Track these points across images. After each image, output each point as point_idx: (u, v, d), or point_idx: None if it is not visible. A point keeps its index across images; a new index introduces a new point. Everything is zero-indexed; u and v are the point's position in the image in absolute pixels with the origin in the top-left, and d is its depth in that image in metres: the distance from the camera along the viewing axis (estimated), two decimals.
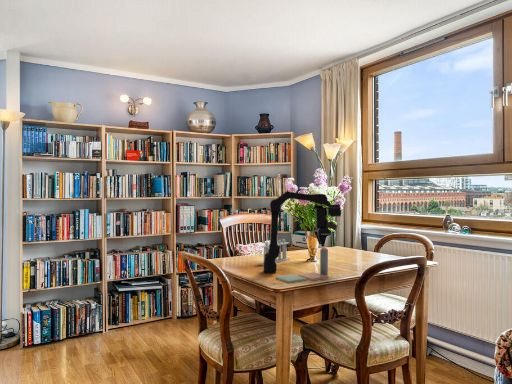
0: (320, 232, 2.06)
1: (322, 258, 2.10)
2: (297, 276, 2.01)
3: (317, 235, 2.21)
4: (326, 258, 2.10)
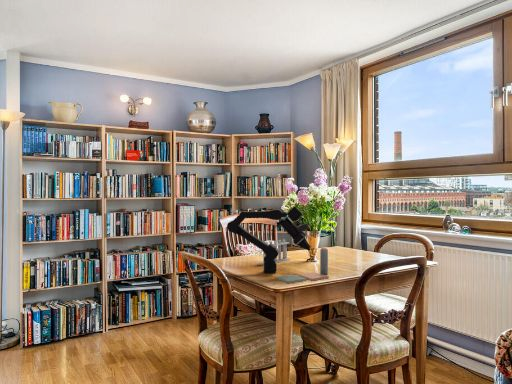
0: (296, 242, 2.04)
1: (322, 258, 2.10)
2: (297, 276, 2.01)
3: None
4: (326, 258, 2.10)
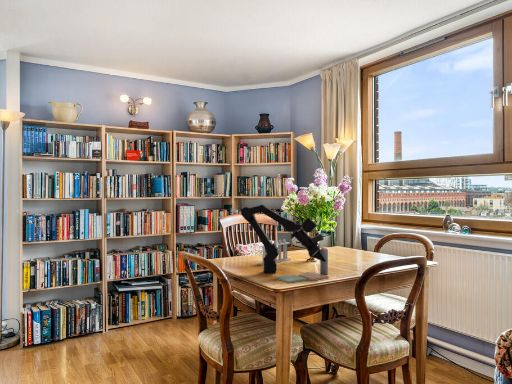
0: (311, 254, 2.03)
1: None
2: (297, 276, 2.01)
3: None
4: (326, 258, 2.10)
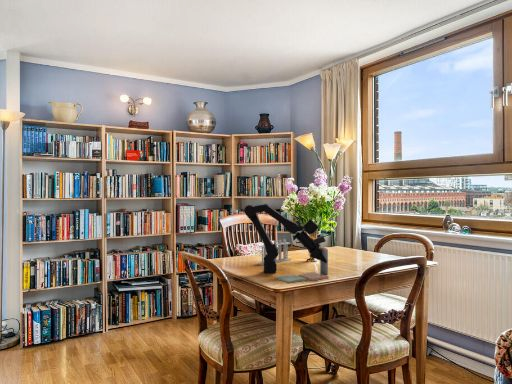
0: (313, 256, 2.03)
1: None
2: (297, 276, 2.01)
3: None
4: (326, 258, 2.10)
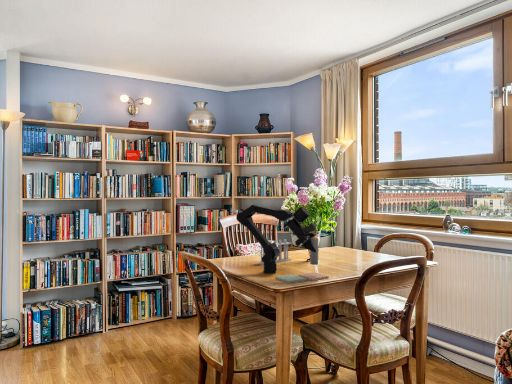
0: (297, 244, 1.98)
1: None
2: (297, 276, 2.01)
3: None
4: (315, 248, 2.02)
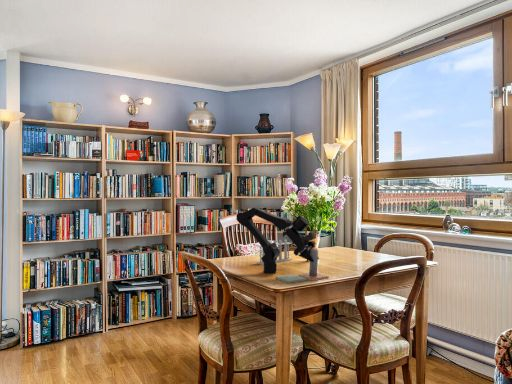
0: (295, 253, 1.98)
1: None
2: (297, 276, 2.01)
3: None
4: (314, 259, 2.02)
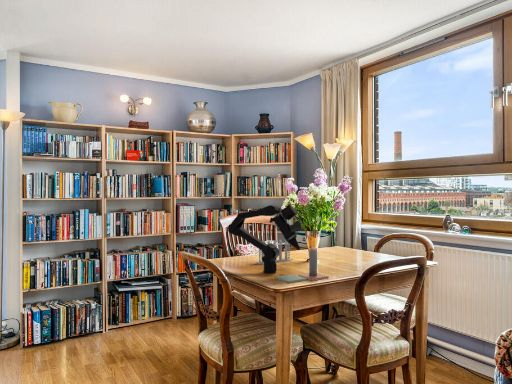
0: (287, 237, 2.02)
1: (310, 259, 2.03)
2: (297, 276, 2.01)
3: None
4: (313, 259, 2.02)
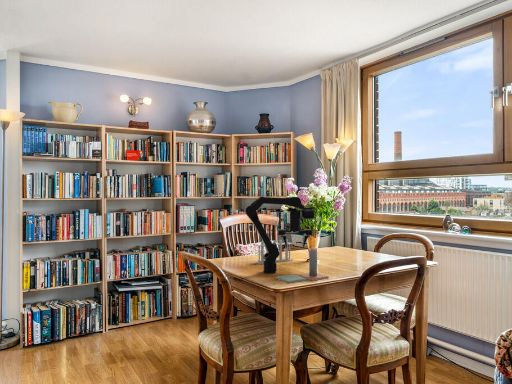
0: None
1: (310, 259, 2.03)
2: (297, 276, 2.01)
3: None
4: (313, 259, 2.02)
